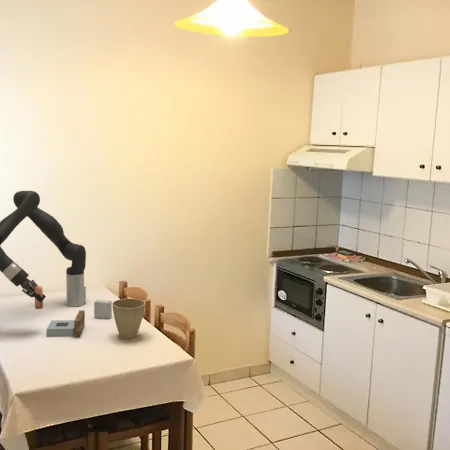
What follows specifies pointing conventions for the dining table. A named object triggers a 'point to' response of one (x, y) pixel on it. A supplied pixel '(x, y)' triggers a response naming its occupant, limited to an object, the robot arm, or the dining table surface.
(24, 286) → the robot arm
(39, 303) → the dowel
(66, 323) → the pocket block
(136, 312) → the plant pot
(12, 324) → the dining table surface
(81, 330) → the backstop wall
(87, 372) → the dining table surface
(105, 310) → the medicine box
